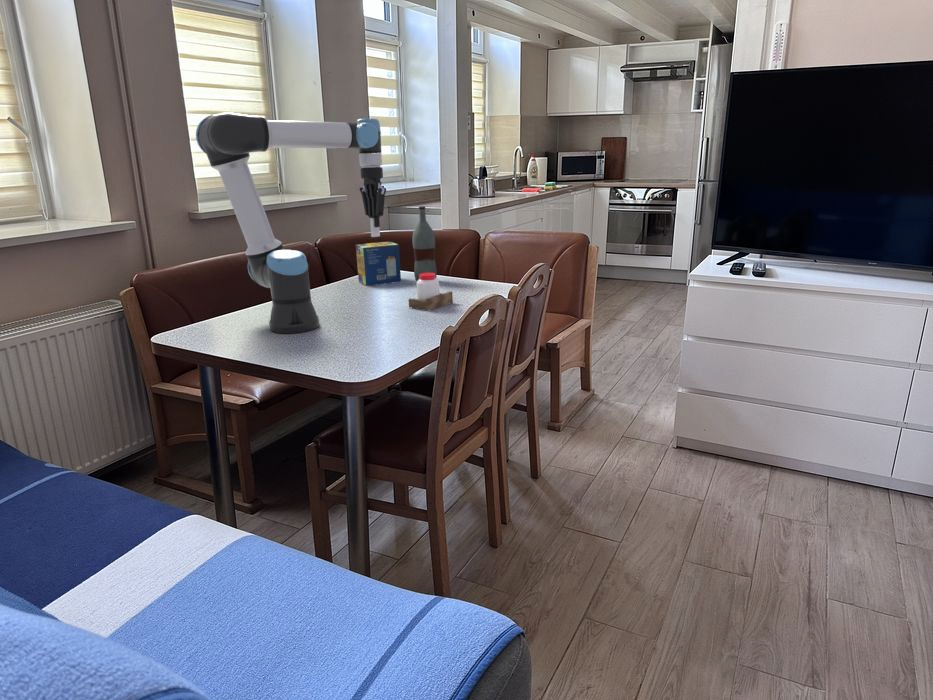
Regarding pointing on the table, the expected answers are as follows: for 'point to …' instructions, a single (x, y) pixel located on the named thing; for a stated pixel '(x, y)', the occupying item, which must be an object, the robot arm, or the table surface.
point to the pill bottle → (427, 286)
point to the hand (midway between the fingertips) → (375, 236)
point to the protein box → (378, 263)
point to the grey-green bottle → (423, 246)
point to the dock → (432, 301)
